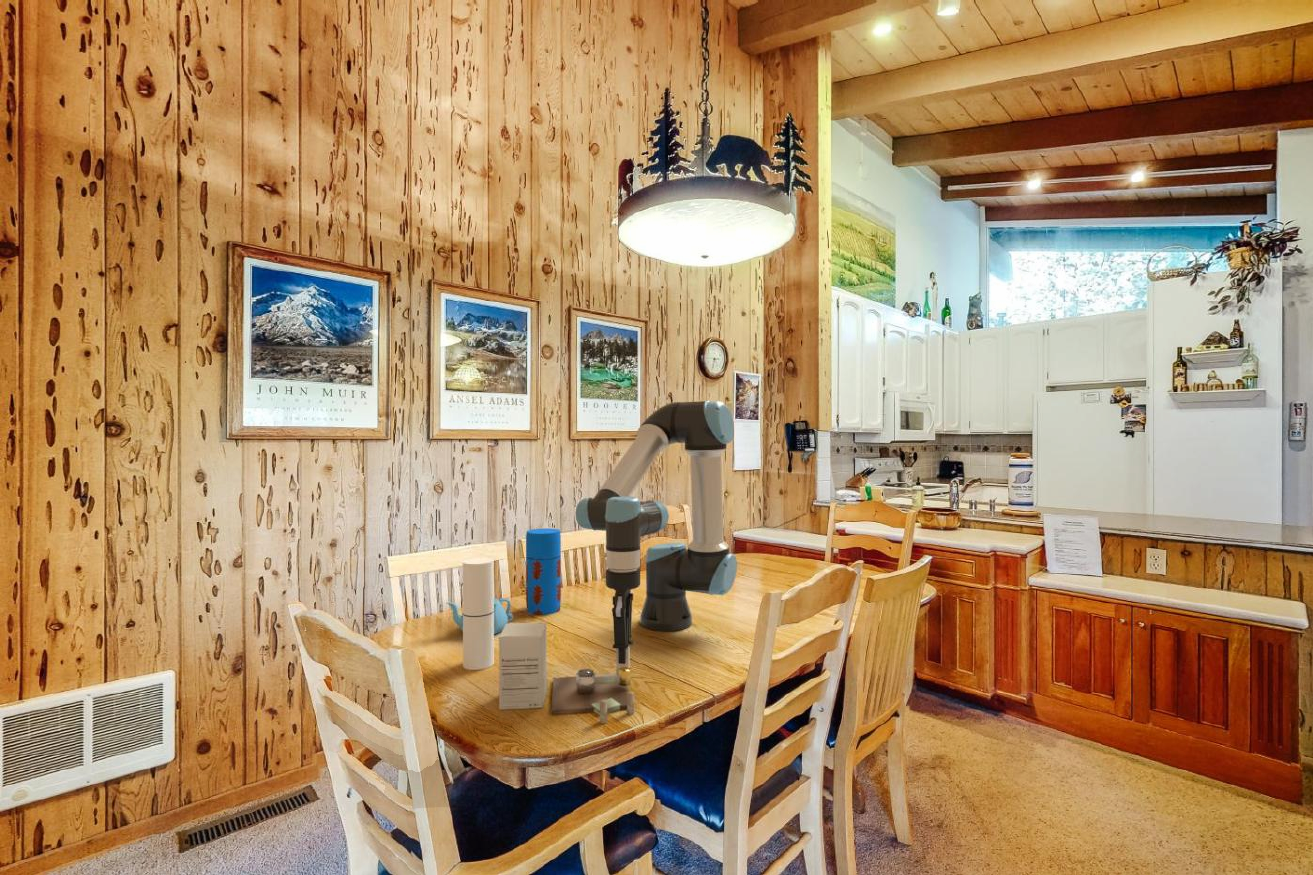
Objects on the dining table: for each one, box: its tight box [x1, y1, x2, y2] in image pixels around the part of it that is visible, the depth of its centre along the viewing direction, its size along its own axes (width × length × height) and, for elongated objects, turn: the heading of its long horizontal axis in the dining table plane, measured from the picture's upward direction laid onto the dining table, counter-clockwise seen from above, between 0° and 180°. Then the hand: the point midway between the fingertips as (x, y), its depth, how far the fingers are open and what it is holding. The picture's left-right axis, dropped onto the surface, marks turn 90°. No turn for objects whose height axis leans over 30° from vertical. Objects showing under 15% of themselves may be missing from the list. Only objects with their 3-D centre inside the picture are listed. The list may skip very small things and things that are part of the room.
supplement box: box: [498, 621, 548, 711], centre depth 125 cm, size 9×9×15 cm
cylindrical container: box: [462, 557, 495, 671], centre depth 145 cm, size 7×7×25 cm
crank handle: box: [575, 667, 632, 693], centre depth 128 cm, size 12×4×4 cm, turn 97°
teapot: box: [445, 597, 514, 635], centre depth 169 cm, size 15×15×10 cm
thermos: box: [525, 527, 562, 616], centre depth 189 cm, size 11×11×25 cm
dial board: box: [551, 676, 635, 725], centre depth 125 cm, size 16×21×4 cm
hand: (623, 676), depth 131 cm, fingers closed
